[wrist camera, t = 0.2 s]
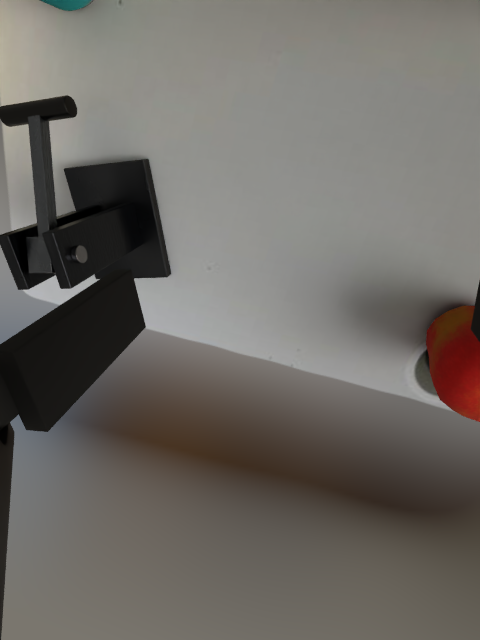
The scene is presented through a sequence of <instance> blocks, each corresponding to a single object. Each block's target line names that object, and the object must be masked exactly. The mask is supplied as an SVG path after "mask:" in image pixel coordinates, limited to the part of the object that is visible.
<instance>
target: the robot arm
mask: <svg viewBox="0 0 480 640" xmlns="http://www.w3.org/2000/svg"><path fill="white" fill-rule="evenodd" d="M145 327H146V326H145V322H144V318H143V314H142V310H141V306H140V302H139V298H138V294H137V290H136V286H135V282H134V278H133V274H132V270H131V269H119V270H114V271H112V272H111V273H109V274H108V275H106V276H105V277H103V278H101V279H100V280H98V281H97V282H95V283H94V284H92V285H91V286H89V287H88V288H86V289H85V290H83V291H81V292H80V293H78V294H77V295H75V296H74V297H72V298H71V299H69V300H68V301H66V302H65V303H63V304H62V305H60V306H58V307H57V308H55V309H54V310H52V311H51V312H49V313H48V314H47V315H45V316H43V317H42V318H40V319H39V320H37V321H35V322H34V323H32V324H31V325H29V326H28V327H26V328H25V329H23V330H22V331H20V332H19V333H17V334H16V335H14V336H12V337H11V338H9V339H8V340H7V341H5V342H3V343H2V344H0V640H1V630H2V615H3V600H4V585H5V570H6V553H7V538H8V523H9V508H10V493H11V478H12V461H13V446H14V430H13V428H12V426H11V424H10V422H11V421H12V420H13V419H14V418H15V417H16V416H17V415H18V414H19V416H20V418H21V420H22V422H23V424H24V426H25V428H26V430H33V431H44V432H48V431H49V430H50V429H51V427H53V425H54V424H55V423H56V422H57V421H58V420H59V419H60V418H61V417H62V416H63V415H64V414H65V413H66V412H67V411H68V410H69V409H70V407H71V406H72V405H73V404H74V403H75V402H76V401H77V400H78V399H79V398H80V397H81V396H82V395H83V394H84V392H85V391H86V390H87V389H88V388H89V387H90V386H91V385H92V384H93V383H94V382H95V381H96V380H97V379H98V378H99V376H100V375H101V374H102V373H103V372H104V371H105V370H106V369H107V368H108V367H109V366H110V365H111V364H112V362H113V361H114V360H115V359H116V358H117V357H118V356H119V355H120V354H121V353H122V352H123V351H124V350H125V349H126V348H127V346H128V345H129V344H130V343H131V342H132V341H133V340H134V339H135V338H136V337H137V336H138V335H139V334H140V333H141V331H142V330H143V329H144V328H145ZM471 331H472V332H473V333H474V335H475V336H476V338H477V339H478V341H479V342H480V282H479V287H478V292H477V297H476V303H475V308H474V313H473V318H472V323H471Z"/></svg>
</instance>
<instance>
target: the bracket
mask: <svg viewBox="0 0 480 640" xmlns="http://www.w3.org/2000/svg"><path fill="white" fill-rule="evenodd" d="M64 172H65V175H66V179H67V182H68V186H69V189H70V192H71V196H72V199H73V202H74V206H75V209H76V211H73V212H70V213H67V214H64V215H61V216H58V217H57V228H55V229H52V230H49V231H46V232H44V233H42V236H43V239H44V242H45V245H46V247H47V250H48V253H49V256H50V259H51V262H52V265H53V268H54V271H55V273H52V274H45V273H29V269H28V258H27V247H26V237H38V227H37V223H36V224H33V225H29V226H26V227H23V228H20V229H17V230H14V231H11V232H8V233H5V234H2V235H0V245H1V248H2V250H3V253H4V255H5V258H6V260H7V263H8V265H9V268H10V270H11V273H12V275H13V277H14V280H15V283H16V285H17V287H18V290H25V289H30V288H32V287H34V286H36V285H38V284H39V283H41V282H43V281H45V280H47V279H49V278H51V277H53V276H55V275H56V277H57V279H58V282H59V285H60V288H61V289H69V288H73V287H74V286H76V285H77V284H79V283H81V282H82V281H84V280H86V279H87V278H89V277H91V276H92V275H94V274H95V277H96V279H101V278H103V277H105V276H106V275H108V274H109V273H111V272H112V271H114V270H119V269H131V270H132V274H133V278H157V277H168V276H169V275H170V274H171V271H170V266H169V261H168V256H167V251H166V246H165V240H164V235H163V230H162V225H161V220H160V215H159V210H158V205H157V200H156V195H155V190H154V185H153V180H152V175H151V170H150V165H149V160H148V159H144V160H135V161H126V162H117V163H108V164H99V165H90V166H81V167H72V168H65V169H64Z"/></svg>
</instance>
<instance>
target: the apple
mask: <svg viewBox="0 0 480 640" xmlns="http://www.w3.org/2000/svg"><path fill="white" fill-rule="evenodd" d="M474 308H475V306H466V305H464V306H461V307H458V308H455V309H452V310H449V311H447V312H446V313H444V314H443V315H441V316H439V317H438V318H436V319H435V320H434V321H433V323H432V324H431V326H430V327H429V329H428V330H427V336H426V345H427V350H428V354H429V362H430V374H431V377H432V381H433V384H434V387H435V389H436V391H437V394H438V396H439V398H440V400H441V401H442V402H444V403H445V404H446V405H447V406H448V407H450V408H451V409H452V410H454V411H455V412H457V413H459V414H461V415H462V416H465V417H467V418H470V419H473V420H476V421H479V422H480V342H479V341H478V339H477V338H476V336H475V335H474V333H473V332H472V331H471V323H472V318H473V313H474Z"/></svg>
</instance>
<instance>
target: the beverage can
mask: <svg viewBox="0 0 480 640" xmlns="http://www.w3.org/2000/svg"><path fill="white" fill-rule="evenodd" d="M41 1H43V2H45V3H47V4H50V5H52V6H54V7H56V8H59V9H62V10H66V11H72V10H77V9H80V8H83V7H85V6H87V5H89V4H90V3H91V2H92V1H93V0H41Z"/></svg>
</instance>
